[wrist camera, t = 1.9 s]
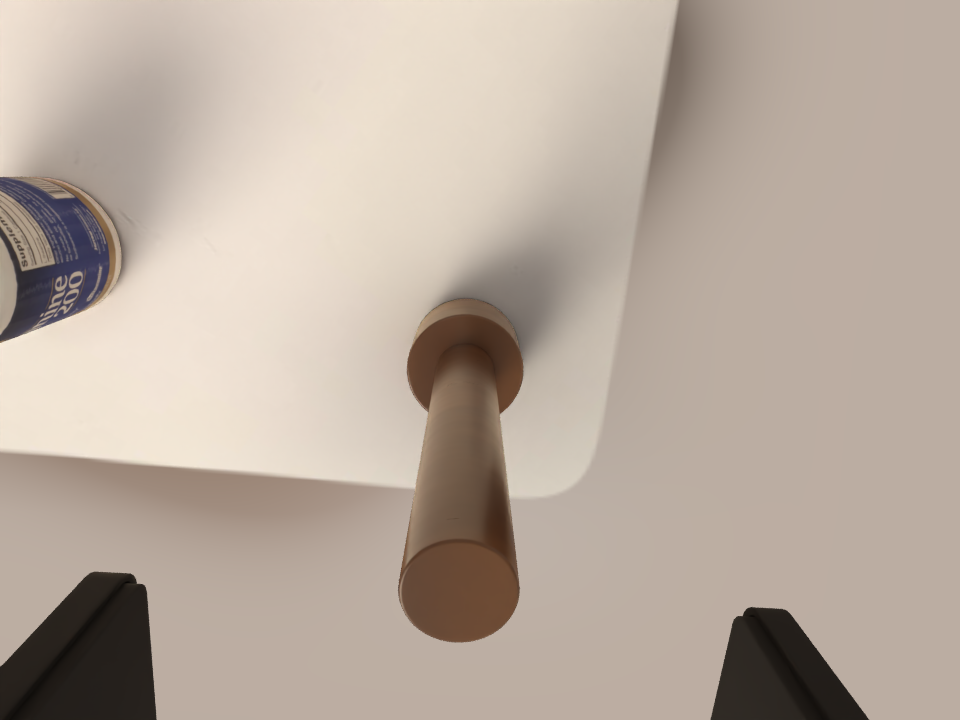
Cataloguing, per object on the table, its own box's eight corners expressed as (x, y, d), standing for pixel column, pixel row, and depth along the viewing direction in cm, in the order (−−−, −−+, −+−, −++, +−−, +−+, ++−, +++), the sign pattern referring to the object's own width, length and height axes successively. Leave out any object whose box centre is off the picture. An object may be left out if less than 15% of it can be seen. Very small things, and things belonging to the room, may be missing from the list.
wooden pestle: (523, 302, 26) (596, 492, 11) (512, 402, 27) (565, 697, 12) (416, 294, 26) (338, 475, 11) (411, 394, 27) (334, 685, 12)
